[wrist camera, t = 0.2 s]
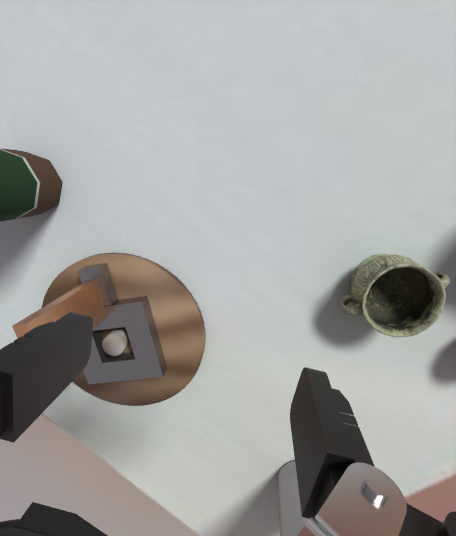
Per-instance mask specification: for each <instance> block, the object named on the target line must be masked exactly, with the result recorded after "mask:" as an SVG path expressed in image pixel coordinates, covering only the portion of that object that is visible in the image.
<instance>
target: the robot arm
mask: <svg viewBox="0 0 456 536" xmlns="http://www.w3.org/2000/svg"><path fill="white" fill-rule="evenodd" d="M92 329H93V319H92V317H90V316H86V315H82V314H78V313H73V312H69V313H67V314H66V315H64V316H63V317H62V318H60V319H59V320H57V321H56V322H49V323H46V324H43V325H40V326H37V327H35V328H34V329H32V330H30V331H29V332H27V333H26V334H24V336H21V337H20V338H18V339H16V340H15V341H14V342H13V343H10V344H9V345H7V346H5V347H4V348H2V349H1V350H0V439H3V440H6V441H10V442H15V441H16V440H17V438H18V437H19V436H20V435H21V434H22V433H23V432H24V431H25V430H26V429H27V428H28V427H29V426H30V425H31V424H32V423H33V422H34V421H35V420H36V419H37V418H38V416H40V414H41V413H42V412H43V411H44V410H45V409H46V408H47V407H48V406H49V405H50V404H51V403H52V402H53V401H54V400H55V399H56V398H57V397H58V396H59V395H60V394H61V392H62V391H63V390H64V389H65V388H66V387H67V386H68V385H69V384H70V383H71V382H72V381H73V380H74V379H75V378H76V377H77V376H78V375H79V374H80V373H81V371H82V370H83V369H84V368H85V367H86V365H87V363H88V361H89V358H90V354H91V343H92ZM290 422H291V431H292V439H293V447H294V456H295V461H292V462H289V463H287V464H286V465H284V466H283V467H282V468H281V469H280V471H279V473H278V476H277V484H278V502H279V521H280V536H456V512H451V513H449V514H448V515H447V517H446V518H445V520H444V521H443V523H442V522H440V521H438V520H436V519H434V518H433V517H431V516H429V515H427V514H425V513H423V512H421V511H420V510H418V509H416V508H414V507H412V506H411V505H409V504H407V503H406V501H405V498H404V496H403V494H402V492H401V491H400V489H399V488H398V486H397V485H396V484H395V483H394V481H393V480H392V479H391V478H390V477H389V476H387V475H386V474H385V473H384V472H382V471H381V470H379V469H378V468H376V467H375V466H374V464H373V461H372V459H371V456H370V454H369V451H368V449H367V446H366V444H365V441H364V439H363V436H362V434H361V431H360V429H359V428H358V424H357V421H356V419H355V417H354V414H353V411H352V409H351V406H350V404H349V402H348V400H347V399H346V398H345V397H344V396H343V394H342V393H341V392H340V391H339V390H336V389H332V388H331V385H330V382H329V379H328V376H327V374H326V372H322V371H318V370H314V369H310V368H306V367H305V368H304V369H303V370H302V373H301V376H300V379H299V382H298V385H297V388H296V391H295V394H294V397H293V401H292V404H291V411H290ZM0 536H107V535H106V534H104V533H103V532H101V531H100V530H98V529H97V528H95V527H94V526H93V525H91V524H90V523H88V522H87V521H85V520H84V519H83V518H81V517H80V516H78V515H77V514H74V513H71V512H66V511H63V510H60V509H56V508H52V507H49V506H45V505H41V504H38V503H34V502H32V504H31V505H30V507H29V508H28V509H27V511H26V512H25V513H24V515H23V516H22V518H21V519H16V520H9V521H3V522H0Z"/></svg>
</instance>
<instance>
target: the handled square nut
mask: <svg viewBox="0 0 456 536" xmlns="http://www.w3.org/2000/svg"><path fill="white" fill-rule="evenodd" d="M78 274H79V277H80V280H81V283H82V284H81V285H79V286H78V287H76V288H74V289H73V290H71V291H69V292H68V293H66V294H64V295H63V296H61V297H59V298H58V299H56V300H54V301H53V302H51V303H49V304H48V305H46V306H44V307H43V308H41V309H39V310H38V311H36V312H35V313H33V314H31V315H30V316H28V317H26V318H25V319H23V320H21V321H20V322H18V323H16V324H15V325H13V326H12V327H13V329H14V331H15V334H16V336H17V338H20V337H21V336H24V334H26V333H27V332H29V331H30V330H32V329H34V328H35V327H37V326H40V325H43V324H46V323H49V322H56V321H57V320H59V319H60V318H62V317H63V316H64V315H66V314H67V313H69V312H73V313H78V314H82V315H86V316H90V317H92V319H93V329H92V343H91V354H90V358H89V361H88V363H87V365H86V367H85V368H84V369H83V371H84V374H85V377H86V380H87V382H88V384H96V383H107V382H117V381H127V380H138V379H148V378H158V377H163V376H164V374H165V372H166V370H167V365H166V361H165V357H164V354H163V350H162V347H161V343H160V340H159V336H158V332H157V329H156V325H155V322H154V318H153V314H152V311H151V307H150V304H149V300H148V296H141V297H134V298H127V299H120V300H118V297H117V294H116V290H115V287H114V284H113V281H112V278H111V274H110V271H109V268H108V265H107V263H102V264H96V265H90V266H85V267H84V268H82V269H80V270H78ZM120 327H126V331H127V334H128V337H129V340H130V343H131V347H132V350H133V352H129V353H121V354H120V355H117V356H112V355H109V354H107V353H106V352H105V351H104V349H103V347H102V342H103V340H104V339H103V336H102V333H101V330H104V329H112V328H120Z"/></svg>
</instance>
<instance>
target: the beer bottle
mask: <svg viewBox="0 0 456 536" xmlns="http://www.w3.org/2000/svg"><path fill="white" fill-rule="evenodd" d="M61 188H62V181H61V179H60V177H59V176H58V174H57V172H56V170H55V169H54V167H53V165H52V164H51V162H50V161H49V160H47V159H44V158H41V157H38V156H36V155H33V154H30V153H28V152H23V151H17V150H9V149H0V221H4V220H10V219H16V218H22V217H28V216H33V215H37V214H41V213H43V212H45V211H46V210H48V209H50V208H52V207H54V206H55V205H57V204H59V200H60V194H61Z"/></svg>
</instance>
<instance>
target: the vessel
mask: <svg viewBox="0 0 456 536" xmlns="http://www.w3.org/2000/svg"><path fill="white" fill-rule="evenodd" d="M439 278H441V279H439ZM449 283H450V279H449V277H448V276H447V275H446V274H443V273H440V272H431V271H430V270H428V269H427V268H425V267H423V266H420V265H419V264H417V263H416V262H414V261H413V260H411V259H410V258H407V257H403V256H399V255H387V254H380V255H373V256H371V257H369V258H367V259H366V260H364V261H362V262H361V263H360V264H359V266H358V267H357V268H356V269H355V270H354V273H353V275H352V277H351V281H350V289H351V292H352V294H351V295H350V294H345V295H343V296H342V299H343V300H342V301H341V303H340V305H341V309H342V310H344V311H345V312H347V313H350V314H353V315H359V314H362V315H363V316H365V319H366V320H367V321H368V323H369V324H370V325H371V326H372V327H373V328H374V329H376V330H377V331H379V332H381V333H383V334H384V335H388V336H393V337H408V336H413V335H416V334H418V333H420V332H422V331H424V330H426V329H427V328H429V327H430V326H431V325H432V324H433V323H434V322H435V321H436V320H437V319H438V317H439V315H440V313H441V312H442V310H443V308H444V304H445V299H446V292H445V288H447V287H448V285H449ZM352 302H353V303H354V304H355V305H353V306H346V305H347V304H348V303H352Z"/></svg>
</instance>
